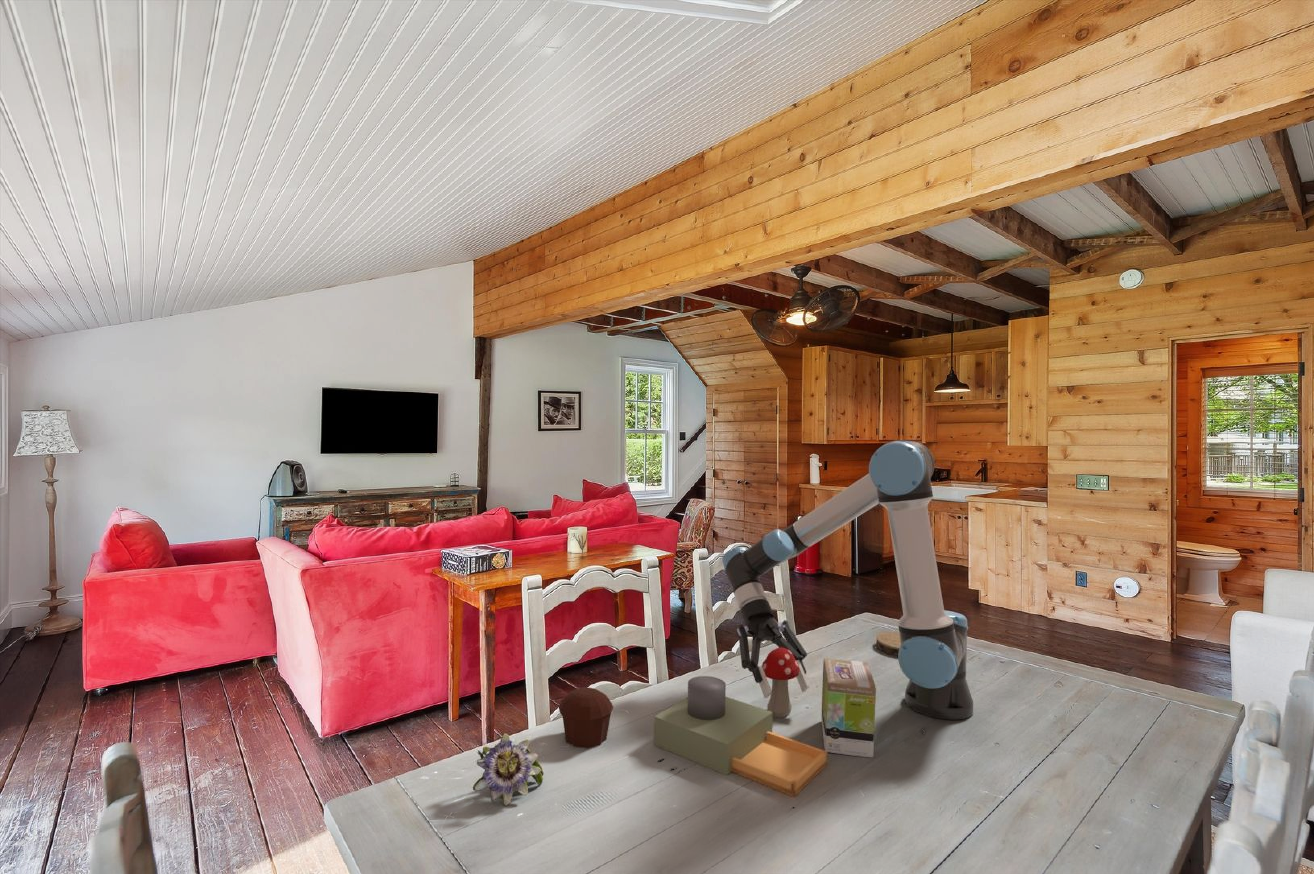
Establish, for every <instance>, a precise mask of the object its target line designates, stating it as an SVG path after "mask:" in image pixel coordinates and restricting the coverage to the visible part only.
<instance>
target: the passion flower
mask: <svg viewBox="0 0 1314 874" xmlns="http://www.w3.org/2000/svg"><path fill="white" fill-rule="evenodd" d="M510 738H511V737H510V736H509V734H508V733H506V732H504V734H503V735H502V736H501V738H500V740H499V742H498V743H497V744H494V745H495V746H494V747H489V746H485V745H484V746H483V747H482V752H481V750H479V749H478V750H477V754H478V755H479V756H480V759H478V761H476V765H477V766H479V767H480V768H481V769H483V770H484V771H483V772H482V776H481V777H479V779H478V780H477V781H476V782H475V783H474V784H473V786H472V791H481V790H483V789H485V788H489V791H490V792H489V793H490V794H489V795H490V799H491V802H495V801H497V800H498V799H501V800H502V804H503V805H504V806H505V807H507V806H509V804H510V803H511V801H512V798H513V794H514V793H515V792H518V793H519V794H520V795H522V796H527V794H528V790H529V786H528V782H529V777H532V778H533V780H534V781H535V782H536V783H537V784H536V785H537V786H541V785H542V783H543V782H544V781H543V780H544V777H543V776H544V774H545V773H544V770H543V768H542V765H541V764H540V763H539V761H537V759H538V757H539V756H538V754H537V753H534V752H532V753H531V750H530V749H529V748H528V747H529V746H530V739H528V738H526V739H525V740H522V741H520V742H519V743H518V744H513V745H512V743H513V740H511V739H510Z"/></svg>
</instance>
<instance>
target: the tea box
mask: <svg viewBox="0 0 1314 874" xmlns="http://www.w3.org/2000/svg"><path fill="white" fill-rule="evenodd" d="M822 665H823V667H822V692H821V695H822V696H821V727H822V735H823V736H822V737H823V747H824V751H827V752H828V753H832V754H838V755H847V756H855V757H861V758H874V753H875V752H874V748H875V747H874V746H875V744H874V743H875V725H876V723H875V721H876V700H877V688H876V684H875V681H874V677H873V675H872V673H871V669H870V666H869V663H868V662H866V661H856V660H847V659H836V658H828V657H827V658H826V657H824V658H823V664H822Z"/></svg>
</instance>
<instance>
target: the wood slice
mask: <svg viewBox="0 0 1314 874" xmlns="http://www.w3.org/2000/svg"><path fill="white" fill-rule="evenodd" d="M875 641H876V644H875V645H876V648H877V649H878V651H880V652H882V653H884V654H886V655H889V656H893V657H897V658H898V654H899V653H898V652H899V648H900V646H901V641H900V634H899V631H885V632H881V633H878V634H877V635H876V640H875Z"/></svg>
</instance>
